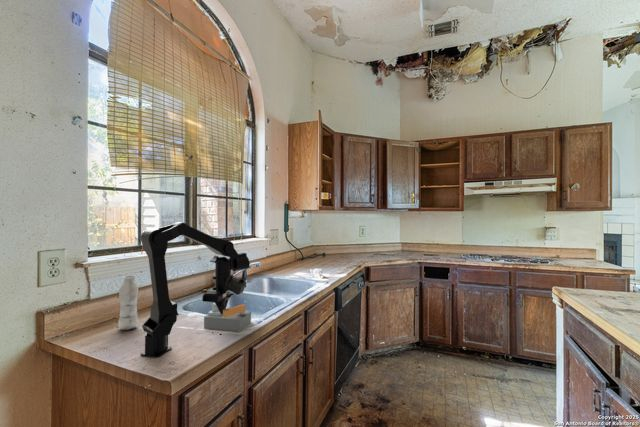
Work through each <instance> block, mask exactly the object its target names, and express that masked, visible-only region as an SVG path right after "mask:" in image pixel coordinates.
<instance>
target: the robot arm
mask: <svg viewBox="0 0 640 427" xmlns="http://www.w3.org/2000/svg"><path fill="white" fill-rule="evenodd" d="M180 236H181V237H184V238H186V239H189V240H191V241H193V242H196V243H199V244H200V245H203V246H205V247H206V248H207V249H209V251H211V252H213V254H215V255H214V256H213V257H212V258H211V259H210V260H209V262H211V263H214V264H215V265H214V266H215V272H214V273H215V274H214V275H213V276H212V280H214V286H213V287H212V290H209V291H207V292H204V294H203V295H201V296H202V298H201V301H202V302H207V303H208V302H209V303H215V304H216V306H217V307H218V309H219V311H220V313H221V314H223V310H224V309H226V308H227V306H228V302H229V300H230V298H232V297H233V296H234V295H237V296H238V295H241V294H243V293H244V290H245V288H247V281H246V279H245V278H243V277H242V278H240V279H235V278H234V277H235V276H234V274H232V272H239V271H245V270H248V269H249V268H250V264H251V263H250V262H251V261H250V259H249V257H248V256H247V253H246V252H240V253H238V251H237V250H236V249H235V246H234V243H233V242H232V241H231V240H227V239H223V238H217V237H214V236H211V235H209V234H208V233H205V232H203V231H201V230H198V229H196V228H194V227H193V226H190V225H188V224H187V223H185V222H181V221H179V222H174V223H172V224H169V225H165V226H161V227H158V228H147V229H145V230H144V231H143V232H142V233H141V234H140V241H141V244H142V247H143V251H145V254H146V256H147V258H148V264H149V273H150V280H151V281H150V282H151V289H152V290H151V291H152V299H153V300H152V301H153V302H152V304H151V306H150V315H149V317H148V318H147V319H146V320H145V322H144V323H143V324H142V326H141V327H142V330H143V332H144V333H146V335H145V336H144V351H142V352H141V353H140V356H142V357H150V358H151V357H152V358H159V357H161V356H162V355H164V354H166V353H167V352H169V351H170V350H172V346H169V336H170V334H171V332H172V329H173V326H174V325H175V323H176V322H177V320H178V319H177V318H178V317H179V315H180V314H179V312H178V303H176V302H175V301H173V300H171V299H170V293H169V292H170V291H169V283H168V275H167V266H166V253H167V250H168V246H169V245H168V243H169V242H172V241H173V240H175V239H177V238H178V237H180ZM218 255H219V256H218ZM227 257H228V258H227ZM231 292H232V293H231Z"/></svg>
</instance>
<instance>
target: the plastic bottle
mask: <svg viewBox="0 0 640 427" xmlns="http://www.w3.org/2000/svg"><path fill="white" fill-rule="evenodd" d="M135 278H136V277H135V275H125V276H123V279H122V281H123V283H122V285H121V286H120V288H119V289H118V296H119V304H120V305H119V306H120V309H119V310H120V311H119V318H118V323H117V324H118V328H119V329H120V330H121V331H128V330H132V329H133V330H134V329H135V328H136V327H137V326H138V324H139V315H138V309H137V308H138V305H137V303H138V296H139V290H140V289H139V287H138V285H137V284H136V283H135V282H136V279H135Z"/></svg>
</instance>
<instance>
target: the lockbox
mask: <svg viewBox="0 0 640 427" xmlns="http://www.w3.org/2000/svg"><path fill="white" fill-rule="evenodd" d="M250 323H252V311H251V310H245V314H244V315H240V313H238V314H235V315H232V316H229V317H226V318H225V317H223V314H222V315H221V316H209V315H208V314H206V315H204V316H203V329H207V330H208V329H209V330H220V331H230V332H239V333H241V331H242V330H243V329H245V328H246V327H247V326H248V325H250Z"/></svg>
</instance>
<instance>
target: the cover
mask: <svg viewBox="0 0 640 427" xmlns="http://www.w3.org/2000/svg"><path fill="white" fill-rule="evenodd" d="M228 308H229V307H226V309H228ZM207 315H209V316H221V315H222V314H221V313H220V311H219V309H218V307H217V306H216V304H215V302H212V303H211V310H209V311H208V312H207Z"/></svg>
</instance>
